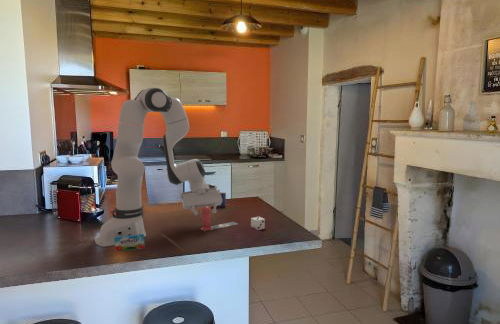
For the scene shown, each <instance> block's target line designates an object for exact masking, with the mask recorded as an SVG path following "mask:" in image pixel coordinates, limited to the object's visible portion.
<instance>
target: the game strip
mask: <svg viewBox="0 0 500 324" xmlns="http://www.w3.org/2000/svg"><path fill="white" fill-rule="evenodd" d="M236 225H238V222H235V221H231V222H226V223H221V224H216V225H210V226H211V230H210V231H212V230H216V229H221V228H222V229H223V228H227V227H230V226H236ZM200 230H202V227H201V228H200ZM202 231H204V232H207V231H209V230H202Z"/></svg>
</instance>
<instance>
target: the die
mask: <svg viewBox="0 0 500 324" xmlns="http://www.w3.org/2000/svg"><path fill="white" fill-rule="evenodd" d="M265 222H266V220H265V218H263V217H261V216H256V217H251V218H250V227H251V228H252V229H255V230H256V231H259V230H264V229H265V227H266V225H265Z"/></svg>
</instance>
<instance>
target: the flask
mask: <svg viewBox="0 0 500 324" xmlns="http://www.w3.org/2000/svg"><path fill="white" fill-rule="evenodd" d="M217 190H218V191H219V193H220V195H221V197H222V203H221V205H218V206H216V208H226V207H227V193H226V192H224V191H223V192H221V191H220V190H221V189H217ZM210 207H213V206H210ZM213 208H214V207H213Z"/></svg>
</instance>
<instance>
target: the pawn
mask: <svg viewBox="0 0 500 324" xmlns="http://www.w3.org/2000/svg"><path fill="white" fill-rule="evenodd" d="M201 211H202V216H201V217H202V226H201V228H202V229H201V230H202V231H203V230H208V231H212V230H211V229H212V228H211V226H212V225H211V208H210V206H209V207H207V206H205V207H202V209H201Z"/></svg>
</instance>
